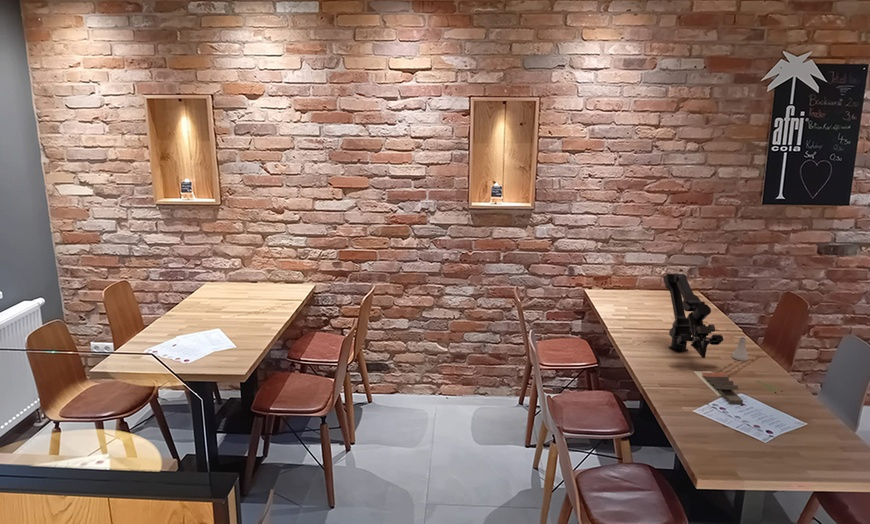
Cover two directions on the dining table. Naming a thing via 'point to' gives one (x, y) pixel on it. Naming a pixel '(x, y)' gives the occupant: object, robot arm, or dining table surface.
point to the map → (768, 386)
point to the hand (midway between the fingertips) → (703, 357)
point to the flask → (741, 350)
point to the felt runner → (707, 380)
